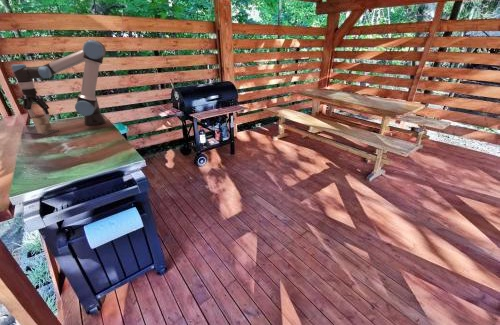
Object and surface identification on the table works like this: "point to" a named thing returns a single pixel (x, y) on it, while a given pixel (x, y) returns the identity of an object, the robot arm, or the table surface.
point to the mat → (41, 133)
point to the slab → (41, 123)
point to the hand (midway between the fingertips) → (41, 118)
